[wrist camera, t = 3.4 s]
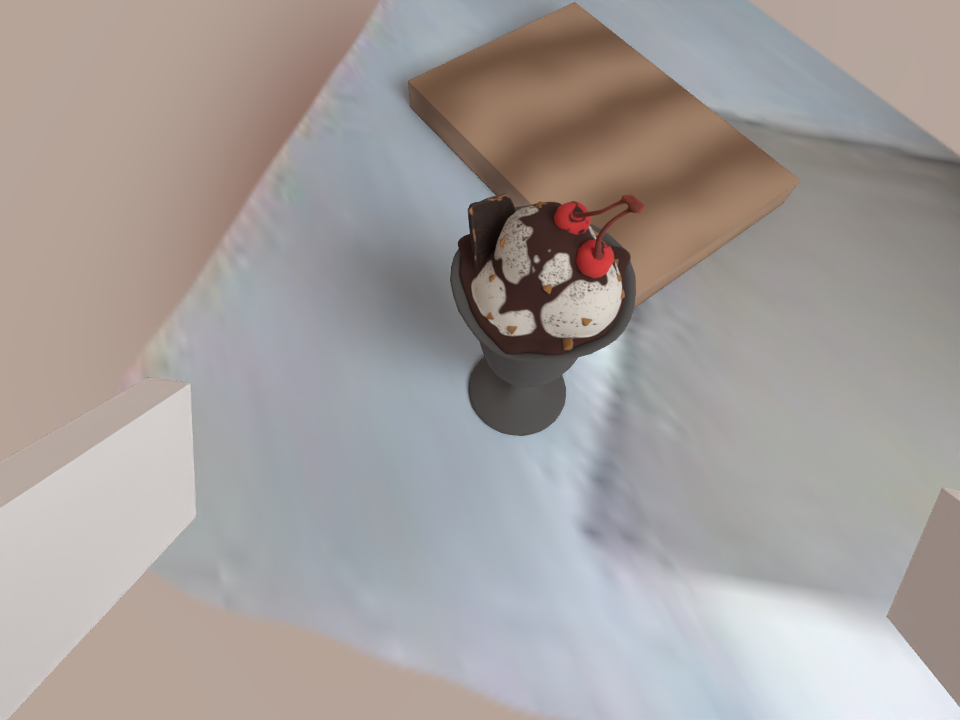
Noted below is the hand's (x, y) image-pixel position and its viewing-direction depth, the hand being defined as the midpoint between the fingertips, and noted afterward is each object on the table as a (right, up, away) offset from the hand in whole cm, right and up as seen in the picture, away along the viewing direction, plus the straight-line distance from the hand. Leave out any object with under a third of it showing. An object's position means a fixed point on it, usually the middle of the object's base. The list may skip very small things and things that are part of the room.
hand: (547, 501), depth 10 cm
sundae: (+1, +1, +20) cm, 20 cm away
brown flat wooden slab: (+6, +16, +27) cm, 32 cm away
